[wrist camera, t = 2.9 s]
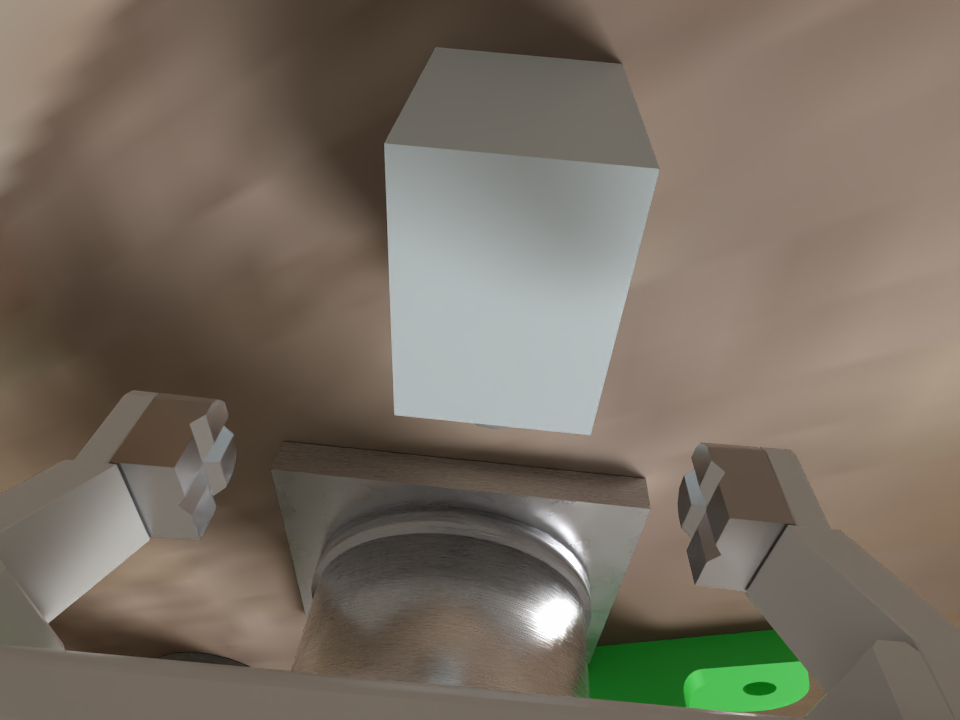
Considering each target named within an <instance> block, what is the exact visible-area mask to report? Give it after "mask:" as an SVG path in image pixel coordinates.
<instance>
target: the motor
mask: <svg viewBox="0 0 960 720" xmlns="http://www.w3.org/2000/svg"><path fill="white" fill-rule="evenodd" d="M271 473H272V477H273V481H274V485H275V489H276V493H277V498H278V502H279V506H280V510H281V514H282V518H283V523H284V527H285V531H286V535H287V539H288V543H289V548H290V552H291V556H292V560H293V564H294V568H295V573H296V577H297V581H298V585H299V589H300V594H301V598H302V602H303V606H304V610H305V614H306V619H307V620H306V624H305V627H304V630H303V634H302V637H301V640H300V643H299V647H298V650H297V653H296V656H295V660H294V663H293V666H292V669H291V671H297V672H308V673H319V674H329V675H340V676H351V677H362V678H373V679H384V680H395V681H406V682H417V683H428V684H439V685H450V686H461V687H472V688H483V689H493V690H504V691H515V692H526V693H536V694H547V695H558V696H569V697H580V698H589V682H588V666H589V663H590V660H591V658H592V655H593V653H594V650H595V648H596V645H597V643H598V640H599V638H600V635H601V633H602V630H603V628H604V625H605V623H606V620H607V618H608V615H609V613H610V610H611V608H612V605H613V602H614V600H615V597H616V595H617V592H618V590H619V587H620V585H621V582H622V580H623V577H624V575H625V572H626V570H627V567H628V565H629V562H630V560H631V557H632V555H633V552H634V550H635V547H636V544H637V542H638V539H639V537H640V534H641V532H642V529H643V527H644V524H645V522H646V519H647V517H648V514H649V512H650V502H649V496H648V490H647V484H646V479H643V478H633V477H624V476H614V475H604V474H594V473H585V472H575V471H565V470H556V469H546V468H536V467H527V466H517V465H507V464H498V463H488V462H478V461H469V460H459V459H449V458H439V457H430V456H420V455H410V454H401V453H391V452H381V451H372V450H362V449H352V448H343V447H333V446H323V445H314V444H304V443H294V442H284V441H283V443H282V445H281V447H280V449H279V452H278V454H277V456H276V459H275V461H274V463H273V465H272V468H271Z"/></svg>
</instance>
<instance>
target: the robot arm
mask: <svg viewBox="0 0 960 720" xmlns="http://www.w3.org/2000/svg"><path fill="white" fill-rule="evenodd" d="M228 417H229V415H228V411H227V408H226V405H225V402H224V401H221V400H219V399H211V398H203V397H194V396H185V395H176V394H168V393H154V392H145V391H137V390H132V391H131V392H129V393H127V394H125V395H124V396H123V397H122V398H121V399H120V401H119V402H118V403H117V405H116V406H115V407H114V409H113V410H112V411H111V412H110V414H109V415H108V416H107V418H106V419H105V420H104V422H103V423H102V424H101V425H100V427H99V428H98V429H97V431H96V432H95V433H94V434H93V436H92V437H91V438H90V440H89V441H88V442H87V444H86V445H85V446H84V447H83V449H82V450H81V451H80V453H79V454H78V455H77V457H76V458H75V459H74V460H63V461H61V462H59V463H57V464H55V465H53V466H51V467H50V468H48V469H46V470H44V471H42V472H40V473H38V474H37V475H35V476H33V477H31V478H29V479H27V480H25V481H23V482H22V483H20V484H18V485H16V486H14V487H12V488H10V489H8V490H7V491H5V492H3V493H1V494H0V720H960V629H959V628H958V627H956V626H955V625H954V624H953V623H952V622H950V621H949V620H948V619H947V618H946V617H944V616H943V615H942V614H941V613H940V612H938V611H937V610H936V609H935V608H934V607H932V606H931V605H930V604H929V603H928V602H926V601H925V600H924V599H923V598H921V597H920V596H919V595H918V594H917V593H915V592H914V591H913V590H912V589H911V588H909V587H908V586H907V585H906V584H905V583H903V582H902V581H901V580H900V579H899V578H897V577H896V576H895V575H894V574H893V573H891V572H890V571H889V570H888V569H887V568H885V567H884V566H883V565H882V564H880V563H879V562H878V561H877V560H876V559H874V558H873V557H872V556H871V555H870V554H868V553H867V552H866V551H865V550H864V549H862V548H861V547H860V546H859V545H858V544H856V543H855V542H854V541H853V540H852V539H850V538H849V537H848V536H847V535H846V534H844V533H843V532H842V531H841V530H836V529H831V528H830V526H829V524H828V522H827V520H826V517H825V515H824V513H823V511H822V509H821V507H820V505H819V503H818V500H817V498H816V496H815V494H814V492H813V490H812V488H811V486H810V483H809V481H808V479H807V477H806V475H805V473H804V471H803V468H802V466H801V464H800V462H799V460H798V458H797V456H796V454H795V453H794V452H793V451H791V450H789V449H776V448H764V447H760V448H758V447H750V446H738V445H726V444H713V443H700V444H699V445H698V446H697V447H696V448H695V451H694V453H693V455H692V457H691V458H692V462H693V466H694V469H693V470H691V471H690V472H688V473H687V474H685V475H684V477H683V480H682V482H681V485H680V488H679V496H678V514H679V520H680V524H681V528H682V529H683V530H684V531H685V532H686V533H687V534H688V536H689V537H690V538H691V539H692V540H691V542H690V544H689V546H688V549H687V554H688V559H689V563H690V567H691V571H692V575H693V579H694V583H695V585H696V586H705V587H713V588H722V589H730V590H739V591H746V593H745V594H746V595H747V597H748V598H749V599H750V600H751V602H752V603H753V604H754V605H755V607H756V608H757V609H758V610H759V611H760V613H761V614H762V615H763V616H764V618H765V619H766V620H767V621H768V623H769V624H770V625H771V626H772V628H773V629H774V630H775V631H776V632H777V634H778V635H779V636H780V637H781V639H782V640H783V641H784V642H785V644H786V645H787V646H788V647H789V648H790V650H791V651H792V652H793V653H794V655H795V656H796V657H797V658H798V660H799V661H800V662H801V663H802V665H803V666H804V667H805V668H806V669H807V671H808V672H809V673H810V674H811V676H812V677H813V678H814V679H815V681H816V682H817V683H818V684H819V686H820V687H821V688H822V689H823V690H824V692H825V693H826V694H825V696H824V697H823V698H822V699H821V700H820V701H819V702H818V703H817V704H816V705H815V706H814V707H813V708H812V709H811V710H810V712H809V713H808V714H807V715H806V716H805V718H797V717H786V716H775V715H764V714H753V713H742V712H731V711H720V710H709V709H699V708H688V707H677V706H666V705H655V704H644V703H634V702H623V701H612V700H601V699H590V698H580V697H569V696H558V695H547V694H536V693H526V692H515V691H504V690H493V689H483V688H472V687H461V686H450V685H439V684H428V683H417V682H406V681H395V680H384V679H373V678H362V677H351V676H340V675H329V674H319V673H308V672H297V671H286V670H275V669H264V668H253V667H242V666H231V665H221V664H210V663H199V662H188V661H177V660H166V659H155V658H144V657H133V656H123V655H112V654H101V653H90V652H79V651H68V650H65V648H64V645H63V643H62V642H61V640H60V639H59V638H58V636H57V635H56V634H55V632H54V631H53V629H52V628H51V627H50V625H49V624H48V623H49V622H50V621H52V620H53V619H54V618H55V617H57V616H58V615H59V614H60V613H61V612H63V611H64V610H65V609H66V608H67V607H69V606H70V605H71V604H72V603H74V602H75V601H76V600H77V599H78V598H80V597H81V596H82V595H83V594H85V593H86V592H87V591H88V590H89V589H91V588H92V587H93V586H94V585H95V584H97V583H98V582H99V581H100V580H102V579H103V578H104V577H105V576H106V575H108V574H109V573H110V572H111V571H113V570H114V569H115V568H116V567H117V566H119V565H120V564H121V563H122V562H124V561H125V560H126V559H127V558H128V557H130V556H131V555H132V554H133V553H134V552H136V551H137V550H138V549H139V548H141V547H142V546H143V545H144V544H145V543H147V542H148V541H149V540H150V538H149V537H159V538H174V539H190V540H201V538H202V536H203V534H204V532H205V530H206V528H207V526H208V524H209V522H210V520H211V518H212V516H213V514H214V512H215V510H216V504H215V501H214V498H213V496H214V495H215V494H217V493H218V492H220V491H221V490H223V489H224V488H226V487H227V485H228V483H229V481H230V479H231V476H232V474H233V471H234V466H235V461H236V442H235V438H234V434H233V433H232V432H230V431H229V430H228V429H227V428H226V427H225V426H224V424H225V422H226V420H227V419H228Z"/></svg>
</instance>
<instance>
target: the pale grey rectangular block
mask: <svg viewBox="0 0 960 720" xmlns="http://www.w3.org/2000/svg"><path fill="white" fill-rule="evenodd" d="M384 152H385V178H386V205H387V232H388V258H389V285H390V312H391V338H392V365H393V392H394V415H398V416H408V417H418V418H427V419H437V420H447V421H457V422H467V423H474V424H476V425H479V426H482V427H486V428H495V429H498V428H507V427H516V428H525V429H535V430H545V431H555V432H564V433H574V434H584V435H591V431H592V427H593V424H594V420H595V416H596V412H597V408H598V404H599V400H600V397H601V393H602V389H603V385H604V381H605V377H606V374H607V370H608V366H609V362H610V358H611V354H612V351H613V347H614V343H615V339H616V335H617V331H618V327H619V324H620V320H621V316H622V312H623V308H624V304H625V301H626V297H627V293H628V289H629V285H630V281H631V277H632V274H633V270H634V266H635V262H636V258H637V254H638V251H639V247H640V243H641V239H642V235H643V231H644V227H645V224H646V220H647V216H648V212H649V208H650V204H651V201H652V197H653V193H654V189H655V185H656V181H657V178H658V174H659V170H660V168H659V165H658V163H657V160H656V157H655V154H654V151H653V149H652V146H651V143H650V140H649V137H648V134H647V132H646V129H645V126H644V123H643V120H642V118H641V115H640V112H639V109H638V106H637V103H636V101H635V98H634V95H633V92H632V89H631V87H630V84H629V81H628V78H627V75H626V72H625V70H624V67H623V64H619V63H608V62H597V61H585V60H574V59H563V58H552V57H541V56H530V55H518V54H507V53H496V52H485V51H474V50H462V49H451V48H440V47H435V49H434V51H433V53H432V55H431V57H430V59H429V61H428V62H427V64H426V66H425V68H424V70H423V72H422V74H421V76H420V77H419V79H418V81H417V83H416V85H415V87H414V89H413V90H412V92H411V94H410V96H409V98H408V100H407V102H406V104H405V105H404V107H403V109H402V111H401V113H400V115H399V117H398V118H397V120H396V122H395V124H394V126H393V128H392V130H391V132H390V133H389V135H388V137H387V139H386V141H385V143H384Z"/></svg>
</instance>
